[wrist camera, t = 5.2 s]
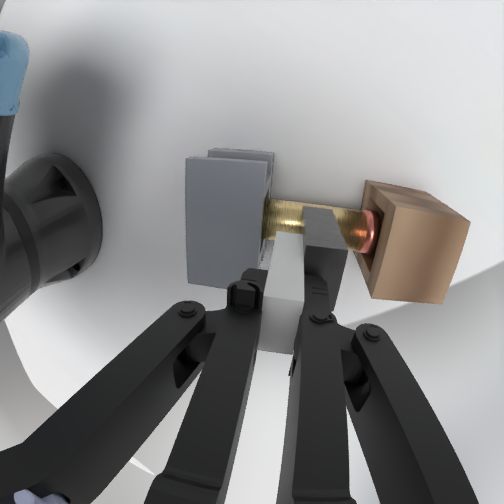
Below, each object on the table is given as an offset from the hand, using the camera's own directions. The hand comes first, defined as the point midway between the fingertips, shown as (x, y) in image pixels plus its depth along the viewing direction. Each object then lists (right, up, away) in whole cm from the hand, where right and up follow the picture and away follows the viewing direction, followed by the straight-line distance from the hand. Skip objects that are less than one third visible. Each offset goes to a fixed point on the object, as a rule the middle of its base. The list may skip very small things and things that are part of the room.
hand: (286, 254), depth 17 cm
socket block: (+10, +3, +7) cm, 13 cm away
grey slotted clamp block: (-3, +5, +8) cm, 10 cm away
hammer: (+1, +3, +6) cm, 7 cm away
